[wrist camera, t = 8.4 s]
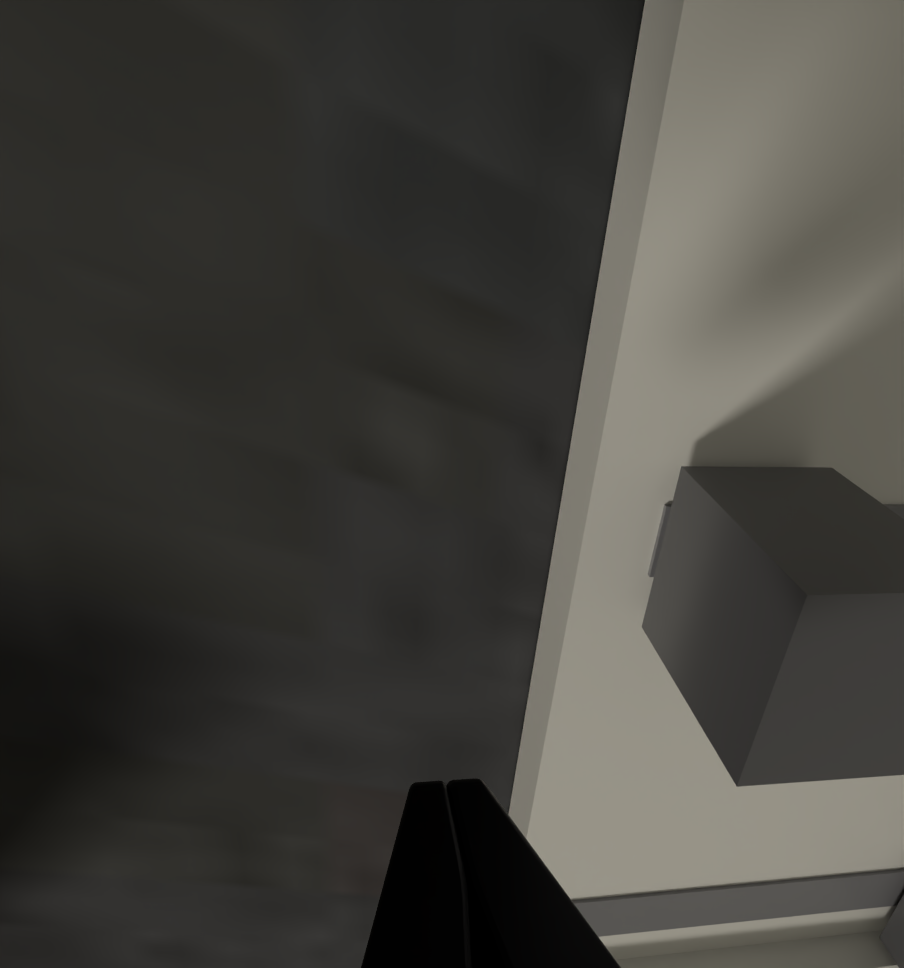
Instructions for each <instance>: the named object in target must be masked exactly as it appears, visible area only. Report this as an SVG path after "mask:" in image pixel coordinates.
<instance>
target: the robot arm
mask: <svg viewBox="0 0 904 968" xmlns="http://www.w3.org/2000/svg"><path fill="white" fill-rule="evenodd" d="M361 968H621V967H620V965H619V964H618V963H617V961H616V960H615V959H614V957H613V956H612V955H611V953H610V952H609V951H608V949H607V948H606V946H605V945H604V944H603V942H602V941H601V940H600V938H599V937H598V936H597V934H596V933H595V932H594V930H593V929H592V927H591V926H590V925H589V923H588V922H587V921H586V919H585V918H584V917H583V915H582V914H581V912H580V911H579V910H578V908H577V907H576V906H575V904H574V903H573V902H572V900H571V899H570V898H569V896H568V895H567V893H566V892H565V891H564V889H563V888H562V887H561V885H560V884H559V883H558V881H557V880H556V879H555V877H554V876H553V874H552V873H551V872H550V870H549V869H548V868H547V866H546V865H545V864H544V862H543V861H542V860H541V858H540V857H539V855H538V854H537V853H536V851H535V850H534V849H533V847H532V846H531V845H530V843H529V842H528V841H527V839H526V838H525V836H524V835H523V834H522V832H521V831H520V830H519V828H518V827H517V826H516V824H515V823H514V822H513V820H512V819H511V817H510V816H509V815H508V813H507V812H506V811H505V809H504V808H503V807H502V805H501V804H500V803H499V801H498V800H497V798H496V797H495V796H494V794H493V793H492V792H491V790H490V789H489V788H488V786H487V785H486V784H485V783H484V782H483V781H482V780H480V779H461V780H452V781H449V782H448V784H447V786H446V784H445V783H444V782H442V781H430V782H416V783H413V784H412V785H411V787H410V789H409V792H408V796H407V800H406V803H405V807H404V811H403V814H402V818H401V822H400V826H399V829H398V833H397V837H396V840H395V844H394V848H393V851H392V855H391V859H390V863H389V866H388V870H387V874H386V877H385V881H384V885H383V889H382V892H381V896H380V900H379V903H378V907H377V911H376V915H375V918H374V922H373V926H372V929H371V933H370V937H369V940H368V944H367V948H366V952H365V955H364V959H363V963H362V966H361Z"/></svg>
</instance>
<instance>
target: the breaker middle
mask: <svg viewBox="0 0 904 968" xmlns="http://www.w3.org/2000/svg"><path fill="white" fill-rule="evenodd" d="M642 628H643V630H644V632H645V634H646V635H647V637H648V639H649V640H650V642H651V644H652V645H653V647H654V649H655V650H656V652H657V654H658V655H659V657H660V659H661V660H662V662H663V664H664V665H665V667H666V669H667V670H668V672H669V674H670V675H671V677H672V679H673V680H674V682H675V684H676V686H677V687H678V689H679V691H680V692H681V694H682V696H683V697H684V699H685V701H686V702H687V704H688V706H689V707H690V709H691V711H692V712H693V714H694V716H695V717H696V719H697V721H698V722H699V724H700V726H701V727H702V729H703V731H704V732H705V734H706V736H707V738H708V739H709V741H710V743H711V744H712V746H713V748H714V749H715V751H716V753H717V754H718V756H719V758H720V759H721V761H722V763H723V764H724V766H725V768H726V769H727V771H728V773H729V774H730V776H731V778H732V779H733V781H734V783H735V784H736V786H737V787H740V786H754V785H768V784H782V783H796V782H810V781H824V780H839V779H853V778H867V777H881V776H895V775H904V519H903V518H901V517H900V516H899V515H897V514H896V513H894V512H893V511H892V510H890V509H889V508H887V507H886V506H885V505H883V504H882V503H881V502H879V501H878V500H876V499H875V498H874V497H872V496H871V495H869V494H868V493H867V492H865V491H864V490H862V489H861V488H860V487H858V486H857V485H855V484H854V483H853V482H851V481H850V480H848V479H847V478H846V477H844V476H843V475H842V474H840V473H839V472H837V471H836V470H835V469H833V468H826V467H712V466H681V470H680V474H679V478H678V482H677V486H676V490H675V494H674V498H673V502H672V506H671V510H670V514H669V518H668V522H667V526H666V530H665V534H664V538H663V542H662V546H661V550H660V555H659V559H658V563H657V567H656V571H655V575H654V579H653V583H652V587H651V591H650V595H649V599H648V603H647V607H646V611H645V615H644V619H643V623H642Z"/></svg>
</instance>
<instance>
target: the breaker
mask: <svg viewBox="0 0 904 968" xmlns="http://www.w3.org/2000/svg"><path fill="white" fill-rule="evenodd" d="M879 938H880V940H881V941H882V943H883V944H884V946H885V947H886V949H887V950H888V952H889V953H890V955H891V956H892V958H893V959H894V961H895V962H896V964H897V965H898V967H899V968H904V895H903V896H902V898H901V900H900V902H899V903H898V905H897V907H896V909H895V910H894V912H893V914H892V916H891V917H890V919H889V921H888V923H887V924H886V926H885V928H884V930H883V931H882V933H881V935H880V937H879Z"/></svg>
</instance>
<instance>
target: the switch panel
mask: <svg viewBox="0 0 904 968" xmlns="http://www.w3.org/2000/svg"><path fill="white" fill-rule="evenodd" d="M681 466H712V467H826V468H833V469H835V470H836V471H837V472H839V473H840V474H842V475H843V476H844V477H846V478H847V479H848V480H850V481H851V482H853V483H854V484H855V485H857V486H858V487H860V488H861V489H862V490H864V491H865V492H867V493H868V494H869V495H871V496H872V497H874V498H875V499H876V500H878V501H879V502H881V503H882V504H883V505H885V506H886V507H887V508H889V509H890V510H892V511H893V512H894V513H896V514H897V515H899V516H900V517H901V518H903V519H904V0H645V4H644V10H643V16H642V22H641V28H640V34H639V40H638V45H637V51H636V57H635V63H634V69H633V75H632V81H631V87H630V93H629V99H628V105H627V111H626V117H625V123H624V129H623V135H622V141H621V147H620V153H619V159H618V165H617V171H616V177H615V183H614V189H613V195H612V201H611V207H610V212H609V218H608V224H607V230H606V236H605V242H604V248H603V254H602V260H601V266H600V272H599V278H598V284H597V290H596V296H595V302H594V308H593V314H592V320H591V326H590V332H589V338H588V344H587V350H586V356H585V362H584V368H583V374H582V379H581V385H580V391H579V397H578V403H577V409H576V415H575V421H574V427H573V433H572V439H571V445H570V451H569V457H568V463H567V469H566V475H565V481H564V487H563V493H562V499H561V505H560V511H559V517H558V523H557V529H556V535H555V540H554V546H553V552H552V558H551V564H550V570H549V576H548V582H547V588H546V594H545V600H544V606H543V612H542V618H541V624H540V630H539V636H538V642H537V648H536V654H535V660H534V666H533V672H532V678H531V684H530V690H529V696H528V702H527V707H526V713H525V719H524V725H523V731H522V737H521V743H520V749H519V755H518V761H517V767H516V773H515V779H514V785H513V791H512V797H511V803H510V809H509V816H510V817H511V819H512V820H513V822H514V823H515V824H516V826H517V827H518V828H519V830H520V831H521V832H522V834H523V835H524V836H525V838H526V839H527V841H528V842H529V843H530V845H531V846H532V847H533V849H534V850H535V851H536V853H537V854H538V855H539V857H540V858H541V860H542V861H543V862H544V864H545V865H546V866H547V868H548V869H549V870H550V872H551V873H552V874H553V876H554V877H555V879H556V880H557V881H558V883H559V884H560V885H561V887H562V888H563V889H564V891H565V892H566V893H567V895H568V896H569V898H570V899H571V900H572V902H573V903H574V904H575V906H576V907H577V908H578V910H579V911H580V912H581V914H582V915H583V917H584V918H585V919H586V921H587V922H588V923H589V925H590V926H591V927H592V929H593V930H594V932H595V933H596V934H597V936H598V937H599V938H600V940H601V941H602V942H603V944H604V945H605V946H606V948H607V949H608V951H609V952H610V953H611V955H612V956H613V957H614V959H615V960H616V961H617V963H618V964H619V965H620V967H621V968H899V967H898V965H897V964H896V962H895V961H894V959H893V958H892V956H891V955H890V953H889V952H888V950H887V949H886V947H885V946H884V944H883V943H882V941H881V940H880V938H879V937H880V935H881V933H882V931H883V930H884V928H885V926H886V924H887V923H888V921H889V919H890V917H891V916H892V914H893V912H894V910H895V909H896V907H897V905H898V903H899V902H900V900H901V898H902V896H903V895H904V775H895V776H881V777H867V778H853V779H839V780H824V781H810V782H796V783H782V784H768V785H754V786H740V787H737V786H736V784H735V783H734V781H733V779H732V778H731V776H730V774H729V773H728V771H727V769H726V768H725V766H724V764H723V763H722V761H721V759H720V758H719V756H718V754H717V753H716V751H715V749H714V748H713V746H712V744H711V743H710V741H709V739H708V738H707V736H706V734H705V732H704V731H703V729H702V727H701V726H700V724H699V722H698V721H697V719H696V717H695V716H694V714H693V712H692V711H691V709H690V707H689V706H688V704H687V702H686V701H685V699H684V697H683V696H682V694H681V692H680V691H679V689H678V687H677V686H676V684H675V682H674V680H673V679H672V677H671V675H670V674H669V672H668V670H667V669H666V667H665V665H664V664H663V662H662V660H661V659H660V657H659V655H658V654H657V652H656V650H655V649H654V647H653V645H652V644H651V642H650V640H649V639H648V637H647V635H646V634H645V632H644V630H643V628H642V623H643V619H644V615H645V611H646V607H647V603H648V599H649V595H650V591H651V587H652V583H653V579H654V575H655V571H656V567H657V563H658V559H659V555H660V550H661V546H662V542H663V538H664V534H665V530H666V526H667V522H668V518H669V514H670V510H671V506H672V502H673V498H674V494H675V490H676V486H677V482H678V478H679V474H680V470H681Z"/></svg>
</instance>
